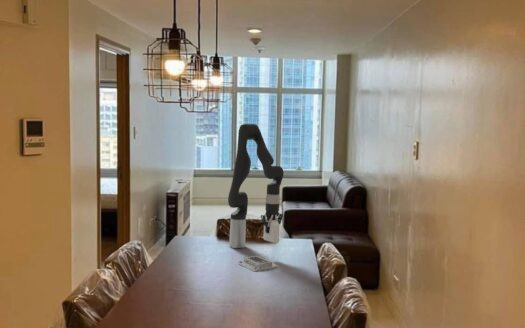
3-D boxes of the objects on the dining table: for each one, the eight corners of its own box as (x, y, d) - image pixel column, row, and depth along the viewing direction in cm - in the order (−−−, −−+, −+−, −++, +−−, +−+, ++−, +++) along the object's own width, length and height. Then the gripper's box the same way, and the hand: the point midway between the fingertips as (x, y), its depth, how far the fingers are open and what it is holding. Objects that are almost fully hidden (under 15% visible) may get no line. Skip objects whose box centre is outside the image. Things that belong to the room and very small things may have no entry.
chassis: (237, 263, 264) (237, 258, 264) (260, 259, 272) (260, 254, 272) (254, 271, 251) (254, 265, 250) (278, 267, 259) (278, 261, 259)
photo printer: (262, 239, 277) (263, 217, 276) (267, 238, 280) (268, 217, 279) (274, 243, 269) (275, 221, 268) (279, 242, 272) (281, 220, 271)
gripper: (278, 200, 280) (277, 229, 281) (258, 201, 271) (256, 232, 273) (287, 202, 273) (285, 232, 275) (266, 204, 265) (264, 235, 267)
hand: (271, 232), depth 274 cm, fingers closed on photo printer, 4 cm apart
